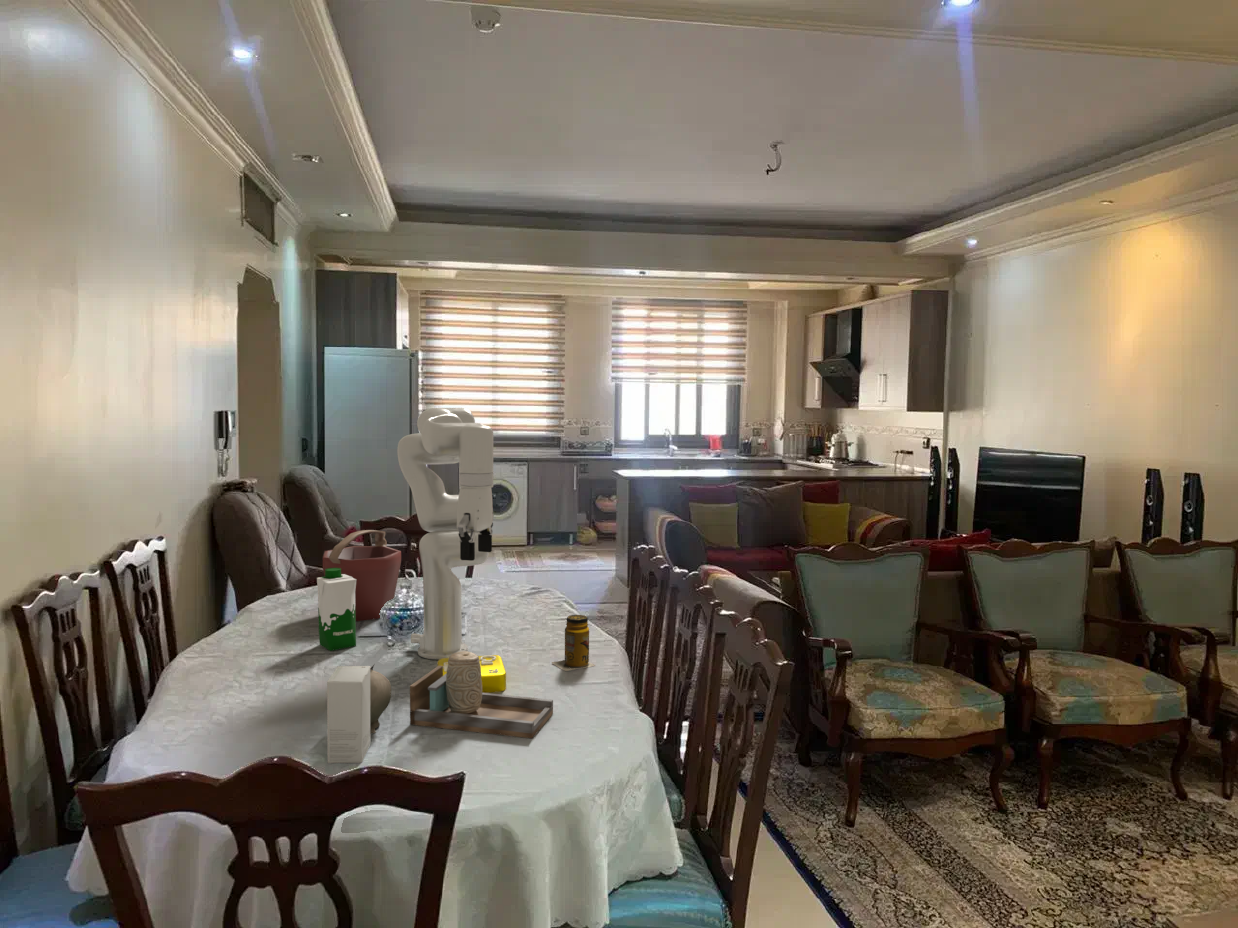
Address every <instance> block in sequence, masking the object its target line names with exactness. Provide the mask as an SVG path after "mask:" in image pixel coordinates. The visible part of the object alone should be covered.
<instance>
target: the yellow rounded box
mask: <svg viewBox="0 0 1238 928" xmlns="http://www.w3.org/2000/svg"><path fill="white" fill-rule="evenodd" d="M477 656H478V657H479V659H480V667H481V680H482V693H491V694H494V693H501V692H504V691H506V689H507V671H506V668H505V666H504V661H503V658H502V657H501V656H500V655H498V654H492V655H491V654H490V655H477ZM448 659H449V658H442V659H439V660H437V664H436V666H443V676H444V675H445V674H446V673H447V667H448Z"/></svg>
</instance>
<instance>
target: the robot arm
mask: <svg viewBox="0 0 1238 928" xmlns="http://www.w3.org/2000/svg"><path fill="white" fill-rule="evenodd" d="M416 426H417V429H418V431H419V432H417V433H411V434H407V435H405V436H403V437H402V438H400V440H399V441H398V443H397V459H398V460H397V461H398V464H399V468H400V470H401V472H402V473H401V474H402V475H403V477H404V479H405V481H406V482H407V484H408V485H409V487H410V490H411V493H412V497H413V498H412V499H413V502H414V507H415V511H416V516H417V519H418V523H419V526H420V528H421V529H422V530H423V531H426V532H428V533H426V534H424V535H423V536H422V537H421V538H420V540H419V547H418V548H419V549H418V550H419V558H420V563H421V569H422V583H423V587H422V589H423V590H422V591H423V593H422V594H423V633H422V634H421V633H420V634H419V633H411V634H410V643H411V644H418V645H419V647H418V649H417V655H418V656H419V657H422V658H423V659H427V660H428V659H429V660H437V661H439V660H440V659H442V658H449V657H450V655H452V654H454V653H457V652H461V651H467V652H469V647H468V645H467V644H466V643H464V642H463V641H462V640H463V637H462V635H463V632H462V630H463V629H462V628H463V627H462V626H463V625H462V622H463V621H462V618H463V617H462V613H463V612H462V611H463V610H462V607H463V606H462V583H461V580H460V579H459V578H458V576H456V574H455V573H454V572H453V570H452V569H453V568H458V567H459V568H460V567H471V566H478V565H482V564H484V563H485V562H486V561H488V558H489V555H490V553H491V552H492V551H493V526H494V521H493V520H494V515H495V514H494V509H493V505H494V504H493V503H494V502H493V493H492V490H493V489H492V488H494V431H493V429H492V428H493V427H491V426H488V425H485V424H483V423H481V422H476V420H475V417H474V414H473V413H472V411H470V410H469V409H467V408H466V407H465V408H464V407H431V408H428V409H426V410H424V411H422V412H421V413H420V414H419V416H418V417H417V422H416ZM458 463H459V465H458V466H459V468H458V469H459V471H458V472H459V476H458V477H459V478H458V479H459V481H458V482H459V483H458V484H459V485H458V486H459V492H458V494H448V493H447V491H446V488H445V484H444V481H443V479H442V478H441V477H440V475H438V474H437V473H436V472H435V471H434V470H432V469H431V468H429V467H428V465H454V464H458Z"/></svg>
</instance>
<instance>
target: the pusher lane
mask: <svg viewBox="0 0 1238 928" xmlns="http://www.w3.org/2000/svg"><path fill="white" fill-rule="evenodd" d="M442 676H443V666H438V665H436V667H435V668H433V669H431V670H430V671H429V672H427V673H426V674H425V675H423V676H422V677H420V678H419V679H417V680H416V681H415V682H413V683H412V684H410V685H409V725H412V726H420V727H430V728H438V729H447V730H455V731H462V732H463V731H465V732H474V733H480V734H489V735H490V734H491V735H499V736H508V737H515V738H516V737H517V738H523V739H524V738H525V739H533V738H534V737H535V736H536V735H537V733H538V732H539V731H540V730H541V729H542V728H543V726H545V724H546V723H547V721H548V720H549V719H550V718H551V717H552V716H553V714H554V699H547V698H538V697H528V696H518V695H508V694H507V695H506V694H499V693H482V701H481V705H480V707H479V708H478V710H476V711H474V712H472V713H467V714H460V713H453V712H451V710H450V708H449V707H448V708H447V709H445V710H444V711H443V712H442V711H433V710H430V690H428V687H429V686H430V685H432V684H433V683H434V682H436V681H437V680H438V679H440V678H441V677H442Z"/></svg>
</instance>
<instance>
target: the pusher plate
mask: <svg viewBox="0 0 1238 928" xmlns="http://www.w3.org/2000/svg"><path fill="white" fill-rule="evenodd" d="M446 674H447V673H446ZM446 674H445V675H444V676H442V677H441V678H440V679H438V680H437V681H436V682H434V683H433V684H432V685H430V686H429V687H428V690H430V710H433V711H442V712H443V711H444V710H445V709H447V708H448V707H449V704H448V703H449V702H448V701H447V695H446Z"/></svg>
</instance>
